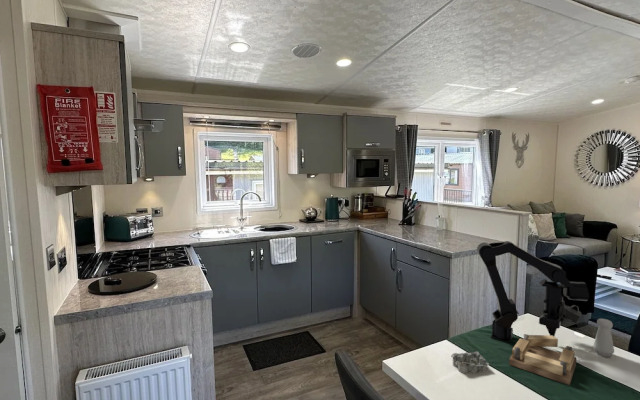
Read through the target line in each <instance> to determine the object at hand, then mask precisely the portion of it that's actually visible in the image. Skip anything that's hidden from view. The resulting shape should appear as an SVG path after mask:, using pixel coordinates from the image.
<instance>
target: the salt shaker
mask: <svg viewBox="0 0 640 400" xmlns="http://www.w3.org/2000/svg"><path fill="white" fill-rule="evenodd" d="M596 325H597V326H598V327H597V328H598V329H597V332H596V335H595V337H594V338H595V339H594V342H593V350H594V351H595V352H596V354H597V355H598V356H600V357H602V358H611V356H612V355H613V354H614V353H615V346H614V342H613V335H612V330H611V329H613V326H614V325H613V322H612V321H611V320H609V319H606V318H598V319H597V320H596Z"/></svg>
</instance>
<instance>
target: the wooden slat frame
mask: <svg viewBox="0 0 640 400" xmlns="http://www.w3.org/2000/svg"><path fill="white" fill-rule="evenodd" d="M565 347H566V348H565ZM565 347H563V349H562V351H561V352H558V351H556V350H552V349H549V348H547V347H529V341H527V340H524V338H519V339H518V341H517V342H516V343H515V344H514V346H513V347H512V350H511V351H512V354H511V355H510V357H509V359H508V365H509V366H512V367H515V368H518V369H521V370H523V371H526V372H528V373H529V372H530V373H533V374H535V375H539V376H541V377H544V378H547V379H550V380H552V381H553V380H554V381H556V382H559V383H562V384H564V385H566V386H567V385H568V386H571V382H572V378H573V375H574V372H575V370H576V366H577V361H578V359H577V357H578V356H577V357H576V356H575V350H573V347H572V346H570V345H566V346H565Z"/></svg>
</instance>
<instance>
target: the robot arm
mask: <svg viewBox="0 0 640 400" xmlns="http://www.w3.org/2000/svg"><path fill="white" fill-rule="evenodd" d="M476 251H477V253H478V255H479V257H480V259H481V260H482V262H483V264H484V265H485V267H486V271H487V273H488V276H489V279H490V282H491V283H492V287H493V290H494V293H495V296H496V302H497V309H496V310H495V311H493V312H492V317H493V320H492V325H491V326H492V327H491V330H492V331H491V332H492V334H491V335H490V338H492V339H495V340H498V341H502V342H504V343H509V342H510V341H511V340H512V339H513V337H514V336H513V335H514V334H513V333H514V332H513V331H514V328H513V327H512V326H513V324H514V323H515V322H516V321H517V320H518V318H519V316H518V315H519V311H518V310H517V305H516V303H515V301H514V299H513V298H510V299H509V297H508V294H507V292H506V290H505V287H504V284H503V281H502V278H501V275H500V273H499V270H498V267H497V257H498V256H502V255H505V254H511V255H513V256H515V257H516V258H518V259H519V260H521V261H523V262H525V263H527V264H528V265H529V266H531V267H534V268H535V269H537V270H538V271H539V272H540V273H542V275H544V276H545V277H547V278H548V279H549V280H550V281H549V280H547V279H546V278H543V279H542V280H541V281H539V282H538V283H539V285H540V286H542V287H544V299H543V303H544V308H543V311H542V312H543V314H542V315H540V316H539V319H538V324H539V325H543V326H544V327H545V328H546V329H547V331H548V334H549V335H553V336H554V337H555V335H556V332H557V329H560V328H561V326H562V324H563V321H564V318H566V319H567V320H570V321H571V322H572V323H574V324H577V323H578V322H579V320H580V319H581V317H582V314H583V313H582V311H580V309H579V306H578V305H575V304H573V305H571V306H570V305H566V304H565V303H566V302H565V300H564V297H566V298H567V299H568V300H570V301H571V300H572V301H583V302H587V301H588V300H589V299H590V293H589V289H588V287H587V285H588V284H587V283H586V282H583V281H570V280H569V279H568V278H567V272H566V271H565V270H564V269H563V268H561V267H560V266H558V265H557V264H554V263H552V262H550V261H546V260H544V259H540V258H539V257H537V256H535V255H533V254H531V253H530V252H528V251H526V250H524V248H523V249H522V248H521V247H519V246H518V245H516V244H514V243H513V242H512V241H509V240H506V241H499V242H490V243H488V242H481V243H479V244H478V245H477V247H476ZM563 317H564V318H563Z"/></svg>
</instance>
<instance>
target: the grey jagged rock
mask: <svg viewBox="0 0 640 400" xmlns="http://www.w3.org/2000/svg"><path fill="white" fill-rule="evenodd" d="M450 357H451V358H452V366H453V367H457V371H458V372H461V373H463V374H468V372H472V373H477V371H481V372H484V373H485V372H486V370H487V368H488V365H490V363H489V362H488V361H487V360H486V359H485V357H483V355H481V354H480V353H479V351H477V350H476V351H473V352H461V353H458V352H454V353H452V354H451V356H450Z"/></svg>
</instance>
